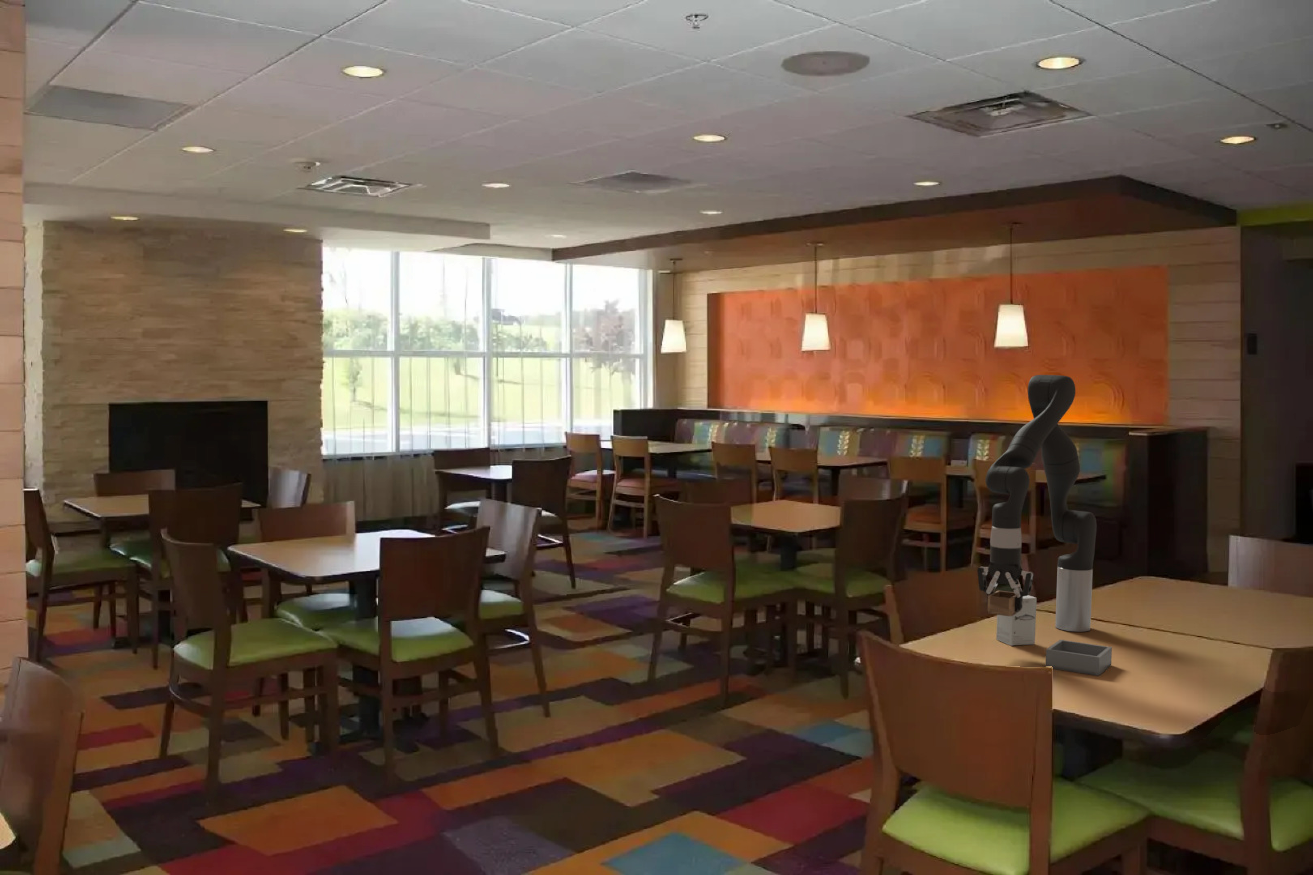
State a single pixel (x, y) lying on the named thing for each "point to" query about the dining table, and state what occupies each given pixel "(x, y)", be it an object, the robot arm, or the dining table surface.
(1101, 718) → the dining table surface
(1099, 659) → the box
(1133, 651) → the dining table surface
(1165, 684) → the dining table surface
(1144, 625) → the dining table surface
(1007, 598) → the small crate
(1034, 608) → the supplement box
